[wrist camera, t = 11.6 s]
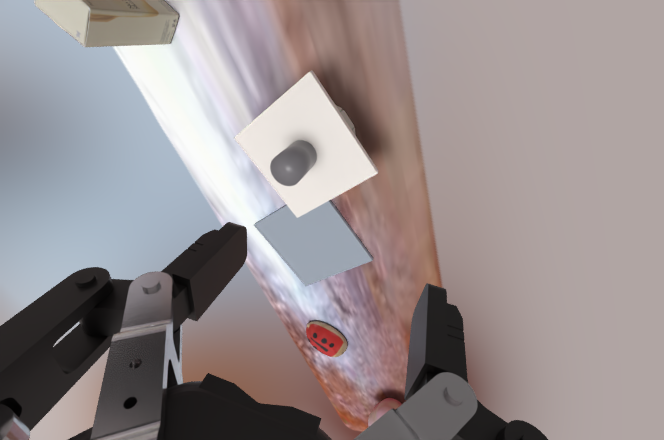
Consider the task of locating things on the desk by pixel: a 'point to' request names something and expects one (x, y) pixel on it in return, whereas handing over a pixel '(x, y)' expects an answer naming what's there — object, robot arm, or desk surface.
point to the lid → (306, 147)
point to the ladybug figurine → (326, 339)
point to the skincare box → (113, 21)
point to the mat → (314, 242)
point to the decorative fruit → (383, 409)
